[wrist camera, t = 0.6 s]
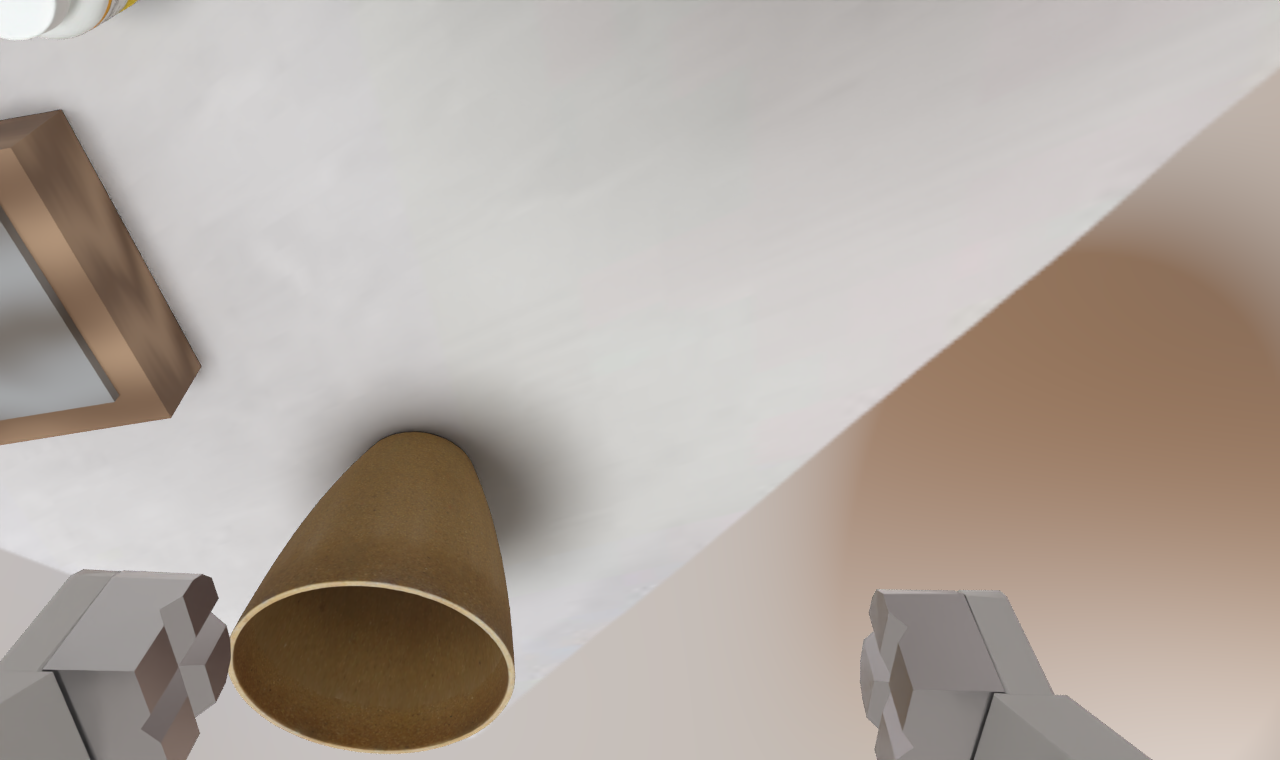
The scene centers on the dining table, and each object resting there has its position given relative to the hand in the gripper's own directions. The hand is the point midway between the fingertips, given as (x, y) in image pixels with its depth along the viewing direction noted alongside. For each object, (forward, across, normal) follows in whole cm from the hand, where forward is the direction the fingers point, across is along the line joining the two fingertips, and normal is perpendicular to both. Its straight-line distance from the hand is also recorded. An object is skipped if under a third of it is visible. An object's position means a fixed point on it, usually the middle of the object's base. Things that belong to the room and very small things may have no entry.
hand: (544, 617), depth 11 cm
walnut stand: (+38, +35, +13) cm, 53 cm away
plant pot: (+41, +14, +28) cm, 52 cm away
